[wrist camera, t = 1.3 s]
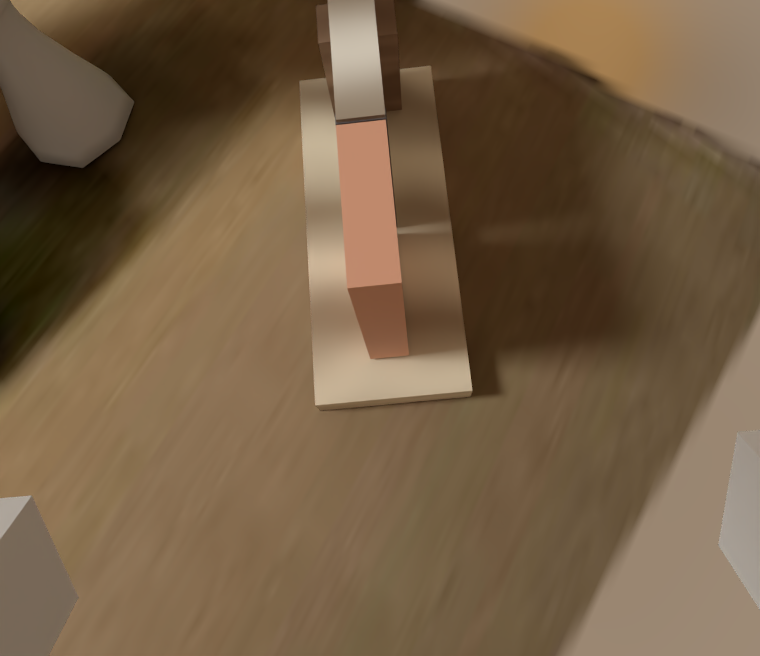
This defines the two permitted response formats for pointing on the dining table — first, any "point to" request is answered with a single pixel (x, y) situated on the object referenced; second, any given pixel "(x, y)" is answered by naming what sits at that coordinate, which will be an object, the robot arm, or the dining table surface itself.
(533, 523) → the dining table surface
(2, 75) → the flask
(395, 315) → the stub
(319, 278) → the ticket stand
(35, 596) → the robot arm
